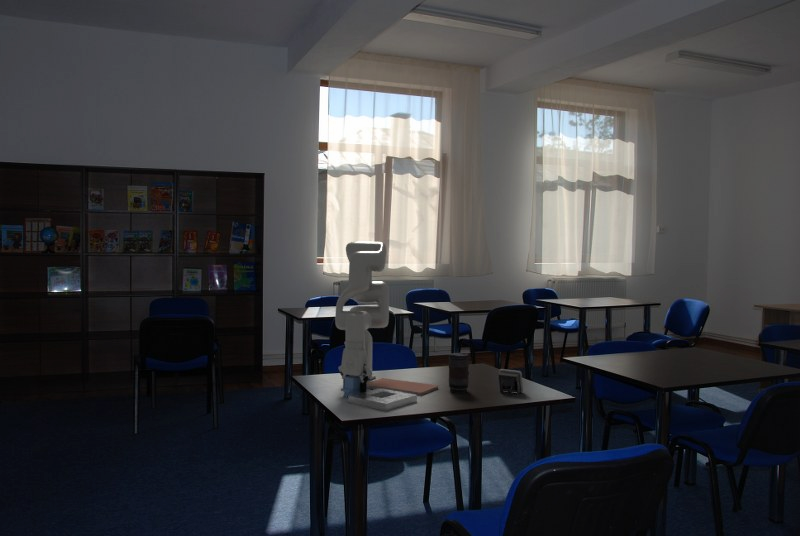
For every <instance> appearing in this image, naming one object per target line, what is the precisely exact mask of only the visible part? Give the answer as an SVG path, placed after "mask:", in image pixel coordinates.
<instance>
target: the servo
mask: <svg viewBox="0 0 800 536" xmlns="http://www.w3.org/2000/svg"><path fill="white" fill-rule="evenodd" d="M362 377H363V376H362ZM363 378H364V377H363ZM360 382H361V380H360V378H359V376H347V377H344V388H343V387H342V388H340V392H344V393H343V397H345V396H350V395H354V394H358V393H360ZM367 389H369V386H367Z"/></svg>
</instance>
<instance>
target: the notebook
mask: <svg viewBox="0 0 800 536" xmlns="http://www.w3.org/2000/svg"><path fill="white" fill-rule="evenodd" d="M367 386H369V388H368V390H372V389H373V390H374V389H378V388H383V389H388V390H393V391H398V392H404V393H409V394H414V395H417V397H418V396H419V397H421V396H424V395H426V394H428V393H430V392H433V391H436V390H438V389H439V387H440V385H437V384H432V383H431V384H430V383H423V382H417V381H415V382H414V381H408V380H401V379H391V378H386V377H385V378H384V377H382V378H379V379H376V380H373V381H370V382H369V381H368V382H367ZM370 388H372V389H370Z"/></svg>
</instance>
